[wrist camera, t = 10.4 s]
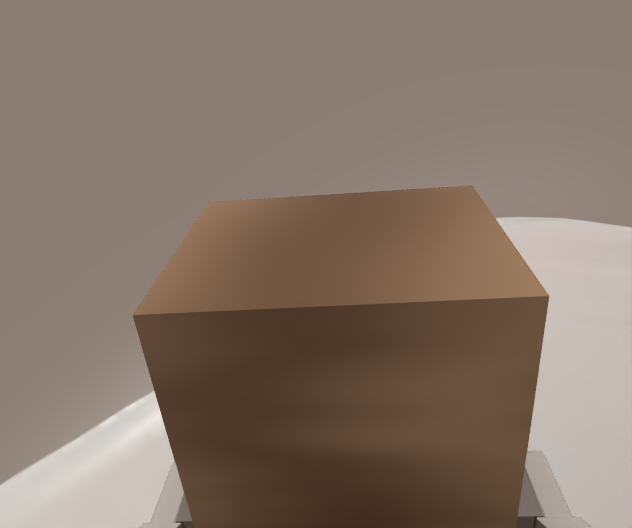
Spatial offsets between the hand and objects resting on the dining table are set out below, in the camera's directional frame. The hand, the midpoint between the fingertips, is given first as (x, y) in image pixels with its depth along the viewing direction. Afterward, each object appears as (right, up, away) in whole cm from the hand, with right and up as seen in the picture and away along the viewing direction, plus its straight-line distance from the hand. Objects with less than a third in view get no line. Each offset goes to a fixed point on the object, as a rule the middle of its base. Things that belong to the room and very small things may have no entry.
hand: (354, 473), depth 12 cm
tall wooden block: (+1, -7, +3) cm, 8 cm away
